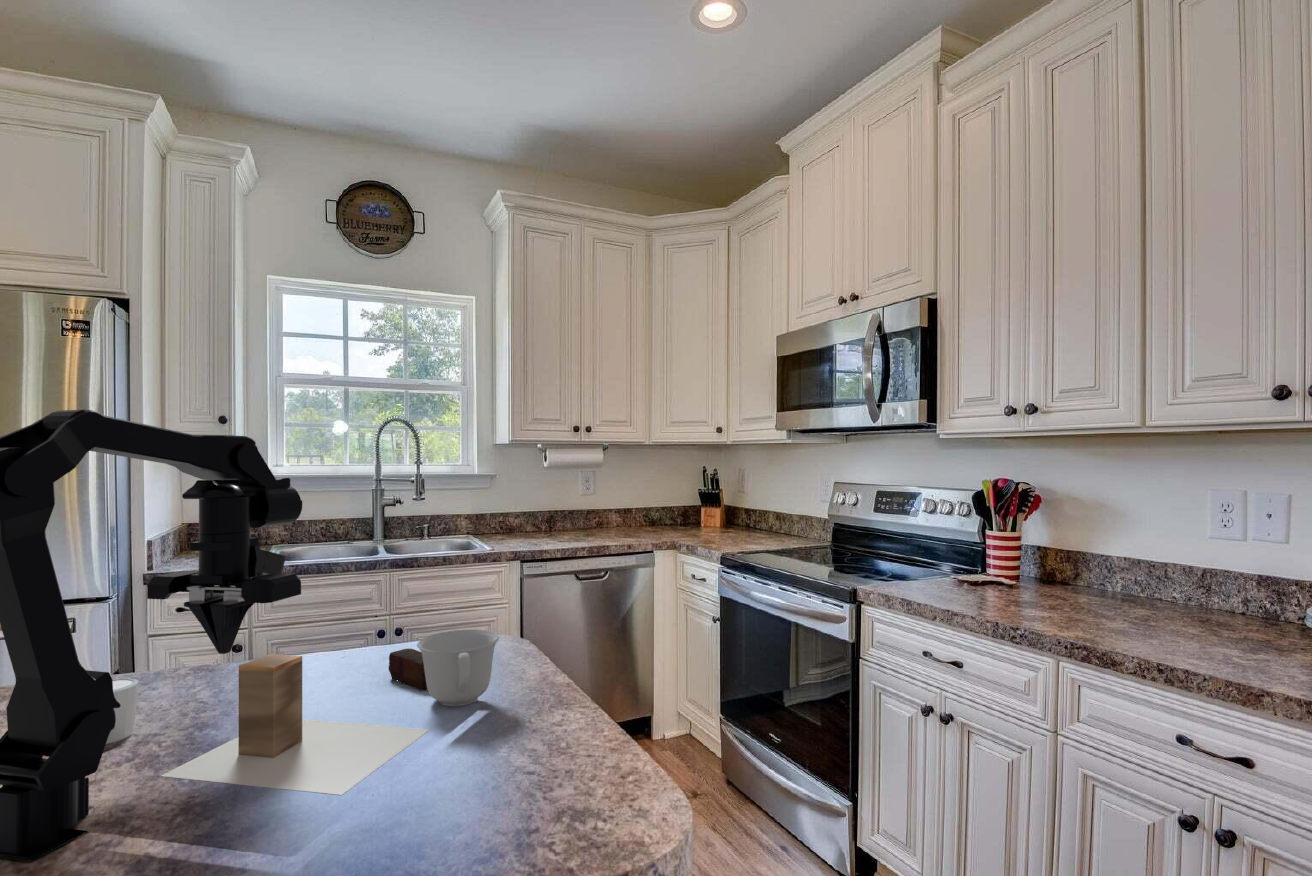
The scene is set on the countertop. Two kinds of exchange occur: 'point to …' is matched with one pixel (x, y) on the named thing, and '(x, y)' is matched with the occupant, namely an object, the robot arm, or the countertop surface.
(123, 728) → the white tapered cup
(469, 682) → the teacup
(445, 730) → the countertop surface
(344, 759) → the cutting board
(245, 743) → the walnut block
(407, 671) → the brick
